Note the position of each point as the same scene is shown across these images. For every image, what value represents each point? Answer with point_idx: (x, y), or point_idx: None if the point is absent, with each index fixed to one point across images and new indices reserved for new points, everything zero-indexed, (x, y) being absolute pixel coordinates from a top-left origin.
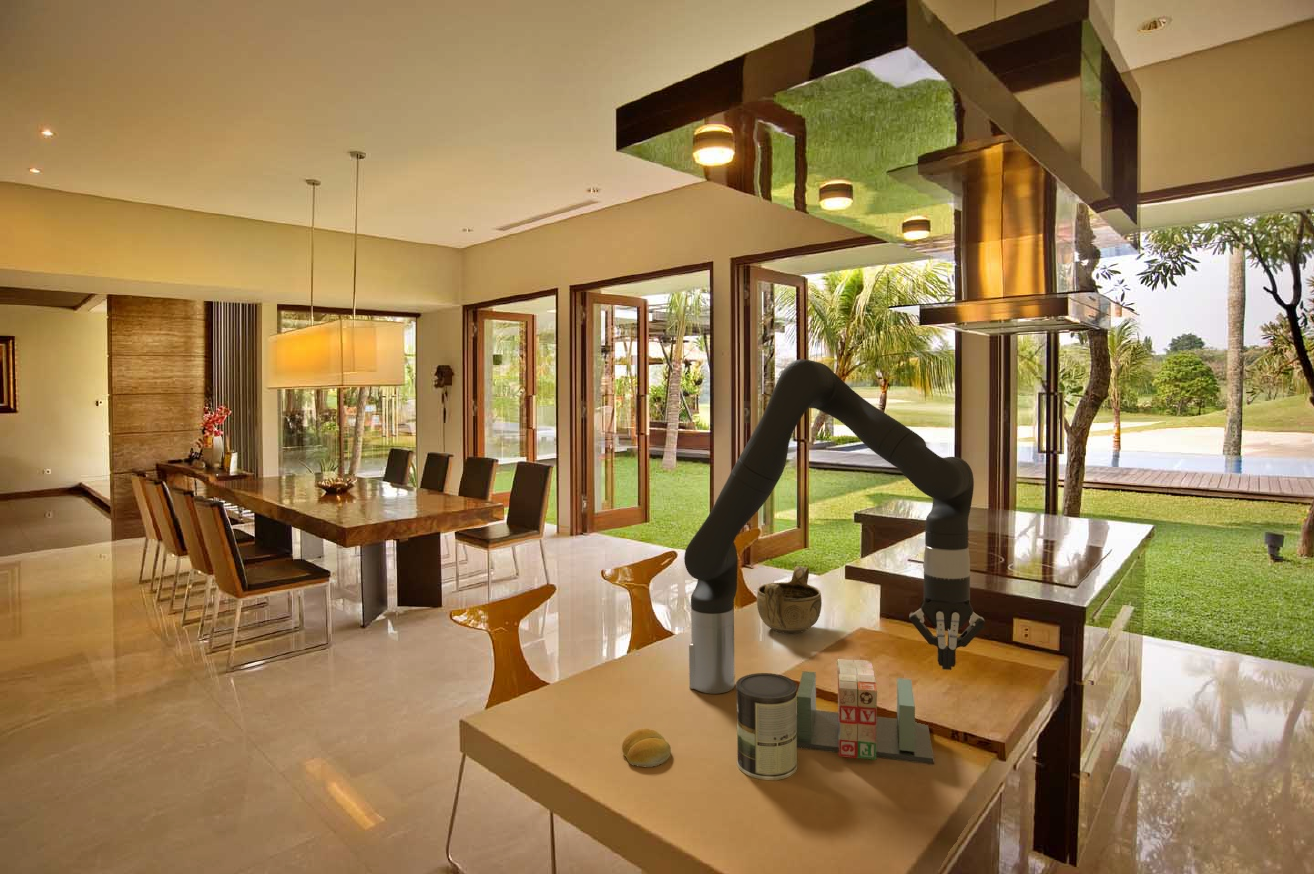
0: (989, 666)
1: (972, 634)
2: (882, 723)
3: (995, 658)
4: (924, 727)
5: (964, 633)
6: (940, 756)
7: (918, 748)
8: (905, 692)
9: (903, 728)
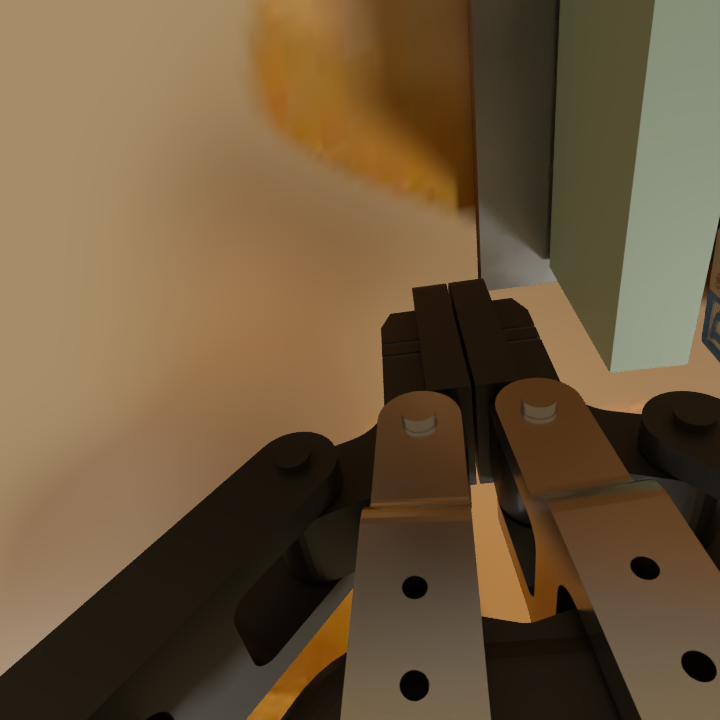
0: (307, 663)
1: (154, 583)
2: None
3: (297, 695)
4: (496, 239)
5: (288, 623)
6: (432, 31)
7: (536, 12)
8: (681, 179)
9: None
